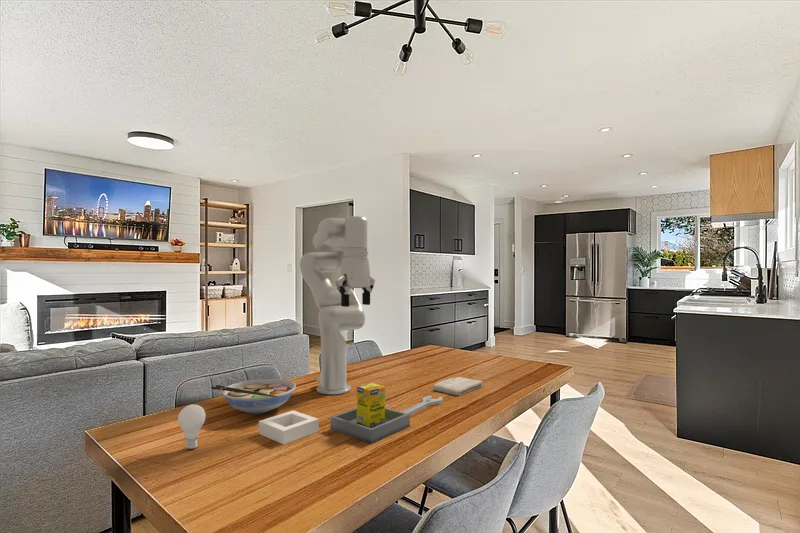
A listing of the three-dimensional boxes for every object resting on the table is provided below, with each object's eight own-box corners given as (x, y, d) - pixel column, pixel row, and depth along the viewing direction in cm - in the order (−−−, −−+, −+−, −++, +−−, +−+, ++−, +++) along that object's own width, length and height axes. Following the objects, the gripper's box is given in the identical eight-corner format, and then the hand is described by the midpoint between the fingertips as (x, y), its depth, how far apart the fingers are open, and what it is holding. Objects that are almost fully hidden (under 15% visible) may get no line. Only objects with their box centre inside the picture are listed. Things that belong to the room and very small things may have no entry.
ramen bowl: (313, 405, 142) (313, 380, 142) (264, 428, 121) (264, 399, 121) (256, 396, 152) (256, 373, 152) (202, 416, 132) (202, 389, 132)
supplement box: (369, 429, 118) (369, 390, 118) (356, 424, 122) (356, 386, 122) (385, 424, 122) (385, 386, 122) (372, 419, 126) (372, 382, 126)
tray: (330, 429, 120) (330, 416, 120) (369, 414, 133) (369, 403, 133) (371, 443, 110) (371, 430, 110) (409, 426, 123) (409, 414, 123)
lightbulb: (184, 444, 110) (184, 401, 110) (209, 443, 111) (209, 400, 111) (173, 454, 104) (173, 409, 104) (200, 453, 104) (200, 408, 105)
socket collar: (258, 433, 117) (258, 420, 117) (293, 422, 126) (293, 410, 126) (283, 444, 110) (283, 430, 110) (318, 431, 119) (318, 418, 119)
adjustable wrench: (397, 423, 127) (397, 417, 127) (382, 418, 131) (381, 412, 131) (445, 402, 145) (445, 397, 145) (430, 399, 150) (430, 394, 150)
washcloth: (484, 387, 165) (484, 379, 165) (459, 398, 151) (459, 389, 151) (458, 382, 173) (458, 374, 173) (432, 391, 159) (432, 383, 159)
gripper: (366, 255, 150) (366, 303, 150) (328, 253, 137) (328, 306, 137) (381, 254, 146) (381, 304, 145) (344, 252, 132) (344, 308, 132)
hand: (356, 305), depth 141 cm, fingers open, 9 cm apart
